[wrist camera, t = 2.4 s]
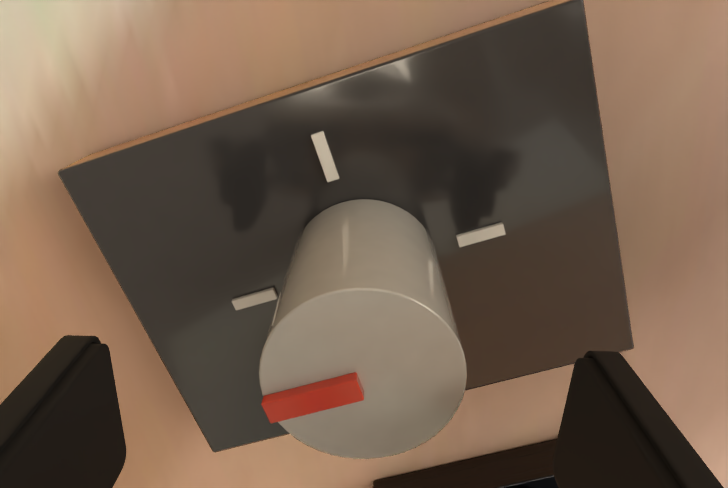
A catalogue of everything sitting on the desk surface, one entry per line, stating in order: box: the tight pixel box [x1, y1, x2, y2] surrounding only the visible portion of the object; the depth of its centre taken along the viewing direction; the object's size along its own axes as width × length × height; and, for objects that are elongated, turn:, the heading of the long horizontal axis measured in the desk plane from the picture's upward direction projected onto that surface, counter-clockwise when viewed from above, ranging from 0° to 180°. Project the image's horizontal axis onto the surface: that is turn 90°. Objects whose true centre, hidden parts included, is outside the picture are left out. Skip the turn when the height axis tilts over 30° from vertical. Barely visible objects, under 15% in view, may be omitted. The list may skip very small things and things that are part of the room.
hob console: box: [58, 0, 634, 452], centre depth 17 cm, size 15×11×2 cm
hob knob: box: [259, 199, 467, 459], centre depth 14 cm, size 4×4×6 cm
